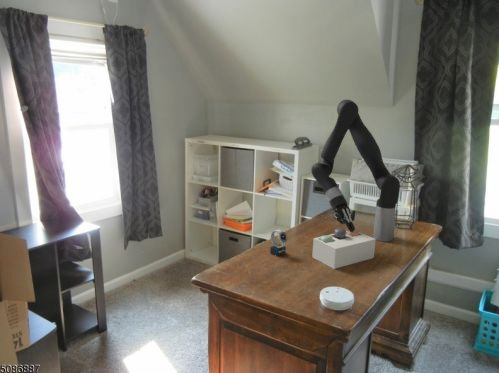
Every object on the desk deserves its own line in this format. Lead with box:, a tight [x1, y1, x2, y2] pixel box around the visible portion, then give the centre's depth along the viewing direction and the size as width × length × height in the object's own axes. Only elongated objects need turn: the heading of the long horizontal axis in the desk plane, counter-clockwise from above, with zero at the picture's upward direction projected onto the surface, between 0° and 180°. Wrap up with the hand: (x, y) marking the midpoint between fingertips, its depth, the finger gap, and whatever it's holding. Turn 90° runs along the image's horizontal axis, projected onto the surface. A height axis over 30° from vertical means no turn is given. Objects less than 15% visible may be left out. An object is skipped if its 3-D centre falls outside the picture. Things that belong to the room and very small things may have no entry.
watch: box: [269, 229, 288, 257], centre depth 187 cm, size 6×8×11 cm
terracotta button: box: [346, 229, 359, 237], centre depth 190 cm, size 5×5×4 cm
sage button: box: [320, 234, 332, 243], centre depth 182 cm, size 5×5×4 cm
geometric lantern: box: [390, 164, 426, 230], centre depth 227 cm, size 16×16×35 cm
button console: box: [311, 230, 377, 270], centre depth 185 cm, size 24×14×9 cm, turn 122°
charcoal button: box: [333, 227, 347, 240], centre depth 186 cm, size 5×5×4 cm
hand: (352, 230), depth 190 cm, fingers closed
